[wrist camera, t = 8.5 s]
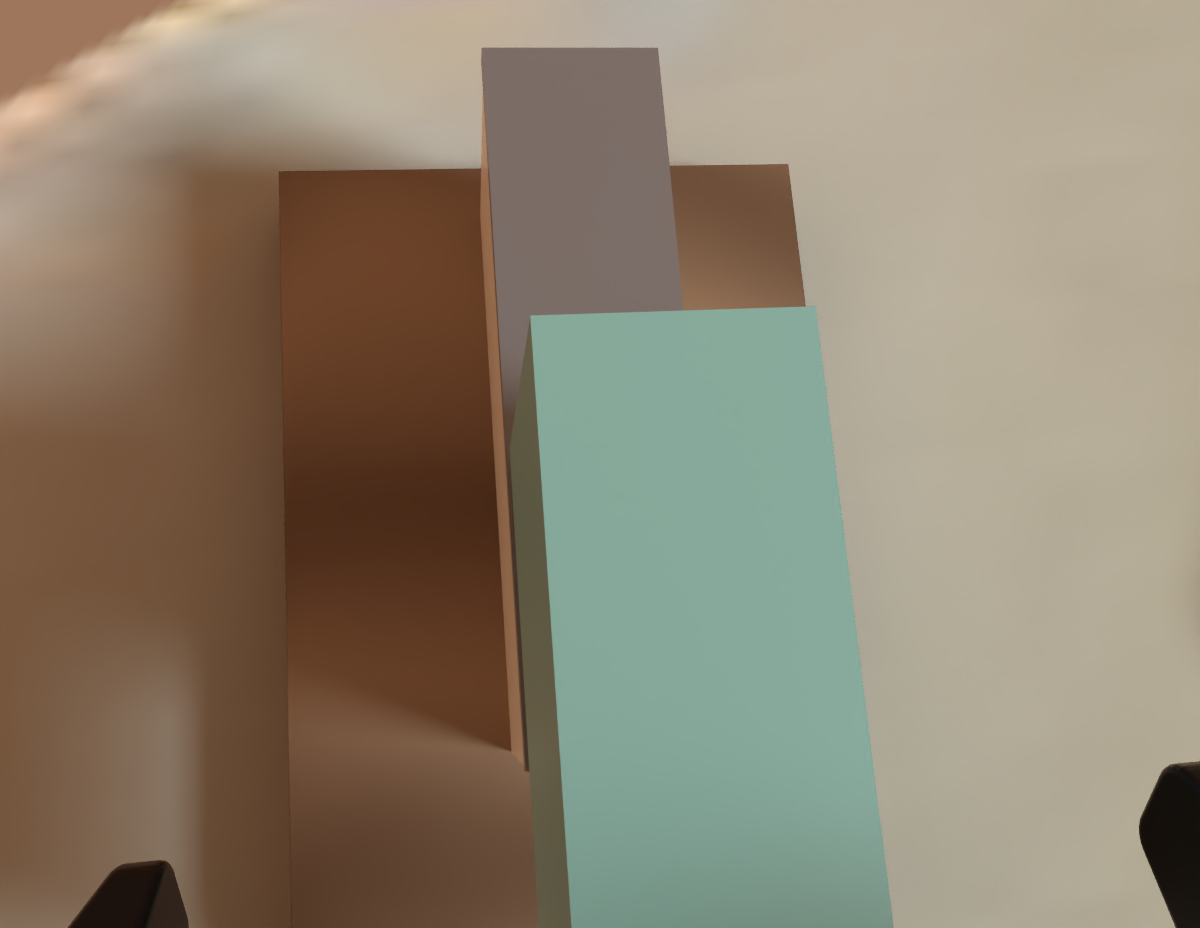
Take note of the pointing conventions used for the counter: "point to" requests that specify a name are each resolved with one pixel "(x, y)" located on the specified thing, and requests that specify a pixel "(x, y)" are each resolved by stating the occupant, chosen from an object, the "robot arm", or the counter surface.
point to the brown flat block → (427, 532)
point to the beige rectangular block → (565, 232)
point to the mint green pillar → (690, 628)
